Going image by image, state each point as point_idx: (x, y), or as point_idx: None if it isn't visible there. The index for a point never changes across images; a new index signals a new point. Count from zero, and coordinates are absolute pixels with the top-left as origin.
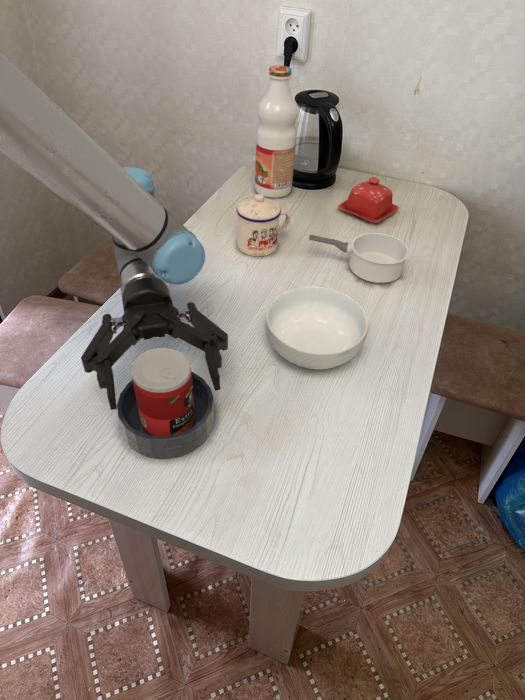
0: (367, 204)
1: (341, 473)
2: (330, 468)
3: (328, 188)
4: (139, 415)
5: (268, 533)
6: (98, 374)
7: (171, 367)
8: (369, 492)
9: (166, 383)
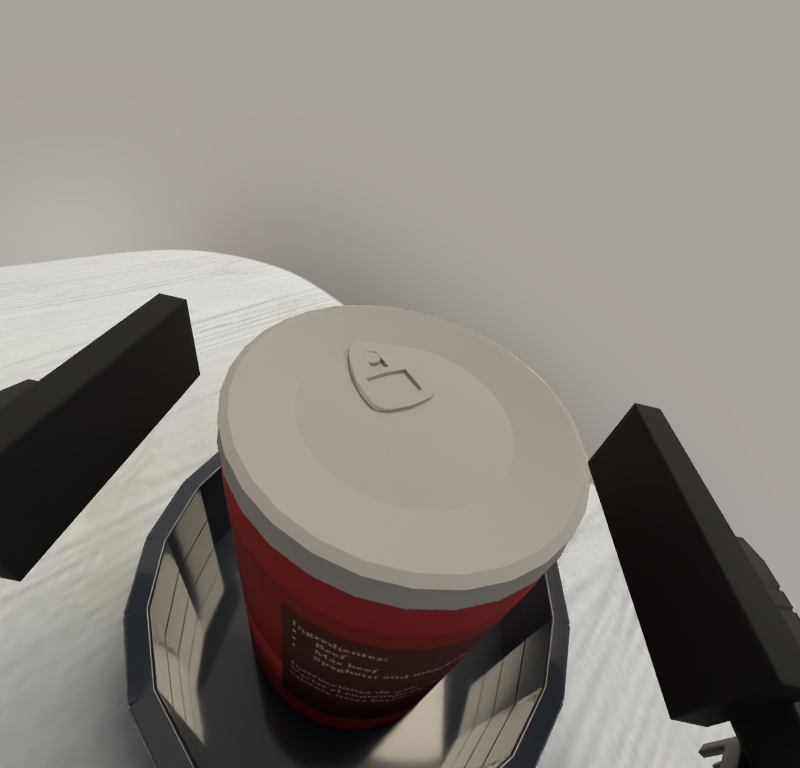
0: None
1: (93, 309)
2: (98, 321)
3: None
4: (449, 677)
5: (295, 310)
6: (777, 597)
7: (348, 393)
8: (96, 278)
9: (408, 338)
